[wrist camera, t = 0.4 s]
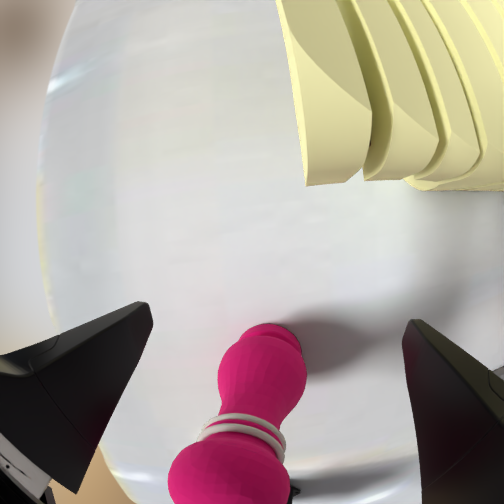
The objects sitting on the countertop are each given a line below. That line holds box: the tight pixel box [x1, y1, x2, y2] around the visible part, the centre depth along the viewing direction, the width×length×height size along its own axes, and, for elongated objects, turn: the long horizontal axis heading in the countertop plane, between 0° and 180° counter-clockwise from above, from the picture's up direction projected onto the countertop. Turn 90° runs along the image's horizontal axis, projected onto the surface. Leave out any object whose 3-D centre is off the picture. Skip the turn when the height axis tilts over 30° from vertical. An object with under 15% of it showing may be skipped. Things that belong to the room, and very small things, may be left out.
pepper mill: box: [168, 324, 307, 504], centre depth 15 cm, size 7×7×20 cm
